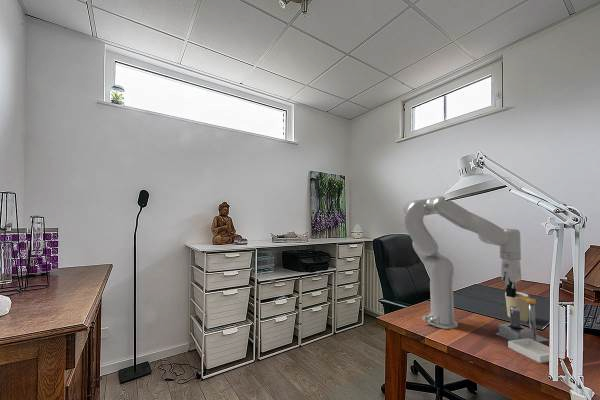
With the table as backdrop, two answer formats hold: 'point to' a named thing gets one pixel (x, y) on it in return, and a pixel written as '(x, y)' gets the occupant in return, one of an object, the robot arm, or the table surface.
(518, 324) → the pin
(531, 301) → the yellow curved piece
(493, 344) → the table surface
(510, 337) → the hitch
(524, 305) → the coffee cup
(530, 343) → the tray
